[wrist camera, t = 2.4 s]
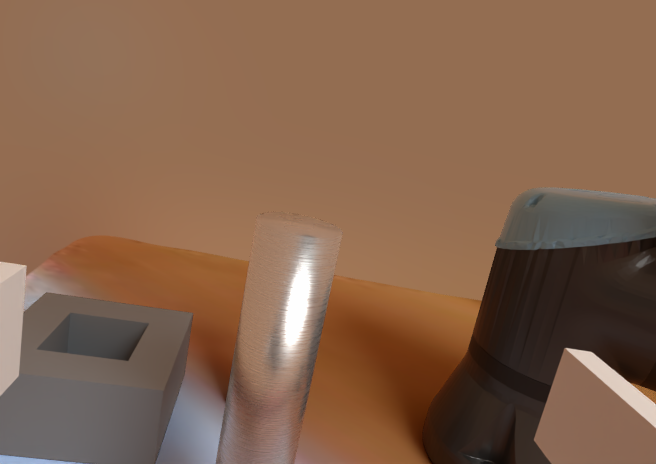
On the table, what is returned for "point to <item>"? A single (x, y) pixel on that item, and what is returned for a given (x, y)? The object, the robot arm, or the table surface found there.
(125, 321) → the hole block
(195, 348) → the table surface
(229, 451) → the long steel pin
